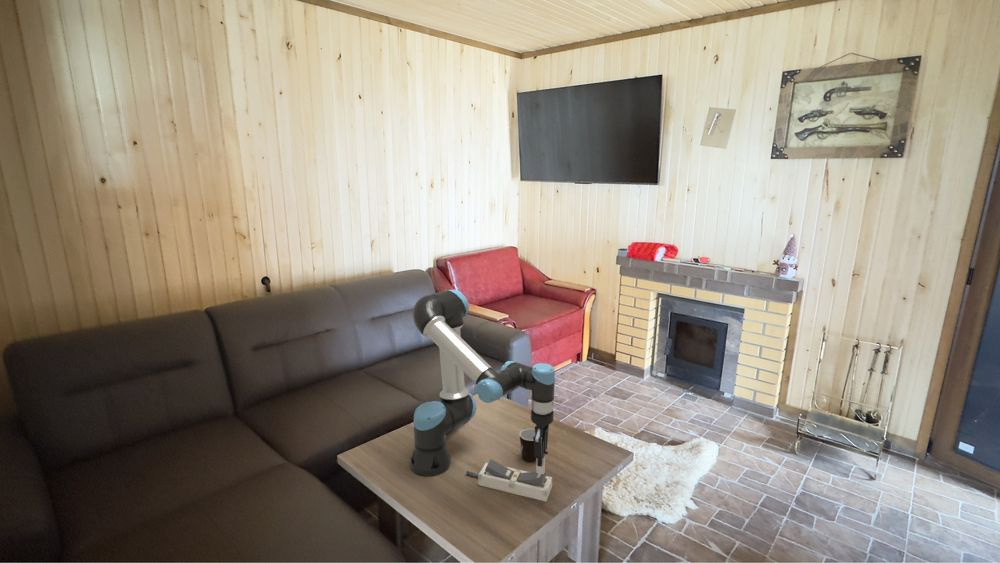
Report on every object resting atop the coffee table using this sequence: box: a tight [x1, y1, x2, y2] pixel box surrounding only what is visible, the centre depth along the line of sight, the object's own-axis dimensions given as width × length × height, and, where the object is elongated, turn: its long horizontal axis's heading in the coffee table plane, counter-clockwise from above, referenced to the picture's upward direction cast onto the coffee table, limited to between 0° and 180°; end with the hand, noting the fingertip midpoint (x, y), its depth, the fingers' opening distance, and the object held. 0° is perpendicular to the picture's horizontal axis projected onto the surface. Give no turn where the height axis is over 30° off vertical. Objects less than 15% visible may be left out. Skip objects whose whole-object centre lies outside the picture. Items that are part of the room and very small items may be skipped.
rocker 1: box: [485, 459, 513, 480], centre depth 168 cm, size 9×5×2 cm, turn 70°
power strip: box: [465, 461, 553, 503], centre depth 167 cm, size 31×8×5 cm, turn 70°
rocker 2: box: [517, 471, 547, 485], centre depth 164 cm, size 9×5×2 cm, turn 70°
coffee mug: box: [519, 428, 536, 463], centre depth 184 cm, size 12×9×10 cm
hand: (540, 472), depth 162 cm, fingers closed
